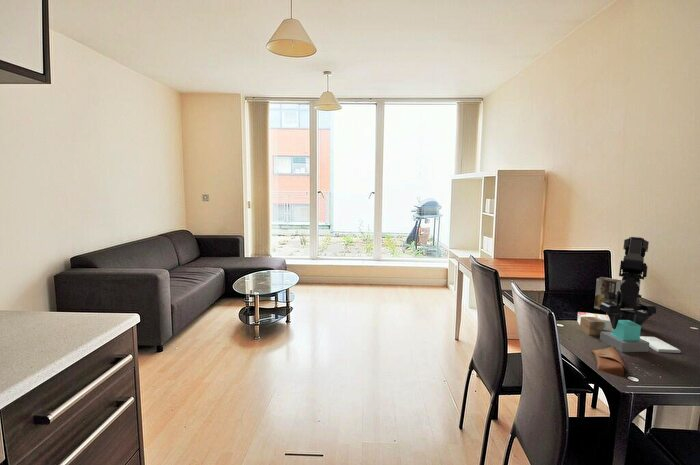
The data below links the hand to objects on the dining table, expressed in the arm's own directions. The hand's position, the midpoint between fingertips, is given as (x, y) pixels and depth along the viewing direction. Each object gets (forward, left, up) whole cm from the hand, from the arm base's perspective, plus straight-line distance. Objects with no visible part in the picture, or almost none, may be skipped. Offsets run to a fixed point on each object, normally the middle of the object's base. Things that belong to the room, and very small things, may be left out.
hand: (625, 328), depth 143 cm
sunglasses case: (+17, +14, -8) cm, 23 cm away
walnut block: (+4, -13, -7) cm, 15 cm away
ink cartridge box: (+4, -22, -4) cm, 23 cm away
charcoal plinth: (0, 0, -7) cm, 7 cm away
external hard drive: (-14, 0, -8) cm, 16 cm away
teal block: (0, +1, -3) cm, 3 cm away
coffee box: (-25, -43, -7) cm, 50 cm away
